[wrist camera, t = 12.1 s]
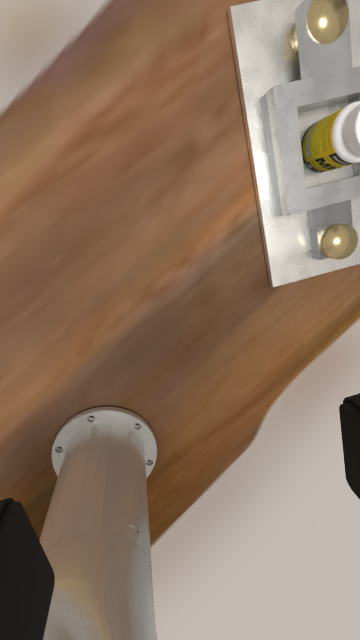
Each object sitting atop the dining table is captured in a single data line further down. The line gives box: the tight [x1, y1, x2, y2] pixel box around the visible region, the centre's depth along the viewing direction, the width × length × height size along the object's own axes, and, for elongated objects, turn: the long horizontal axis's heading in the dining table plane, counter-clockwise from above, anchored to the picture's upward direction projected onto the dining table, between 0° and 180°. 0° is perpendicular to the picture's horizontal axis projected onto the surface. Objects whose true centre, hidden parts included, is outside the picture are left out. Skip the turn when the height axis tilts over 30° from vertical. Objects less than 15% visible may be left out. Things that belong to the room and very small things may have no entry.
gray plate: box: [227, 0, 360, 287], centre depth 32 cm, size 26×14×4 cm, turn 14°
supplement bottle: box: [301, 101, 360, 173], centre depth 29 cm, size 5×5×8 cm
